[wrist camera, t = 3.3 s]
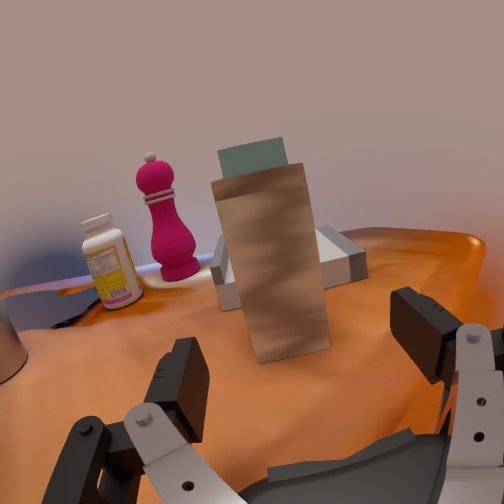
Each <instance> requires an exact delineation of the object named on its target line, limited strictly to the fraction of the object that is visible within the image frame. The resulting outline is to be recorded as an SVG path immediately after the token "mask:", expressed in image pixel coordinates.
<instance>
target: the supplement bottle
mask: <svg viewBox="0 0 504 504" xmlns="http://www.w3.org/2000/svg"><path fill="white" fill-rule="evenodd" d="M81 226H82V229H83V231H84V233H86V240H85V241H84V243H83V245H82V250H83V253H84V256H85V259H86V262H87V264H88V267H89V270H90V273H91V275H92V278H93V281H94V283H95V286H96V288H97V291H98V293H99V296H100V298H101V300H102V303H103V305H104V306H105V307H106V308H108V309H118V308H122V307H125V306H127V305H129V304H131V303H133V302H134V301H136V300H137V299H138V298H139V297H140V296H141V295H142V292H143V290H142V287H141V284H140V281H139V278H138V276H137V273H136V270H135V267H134V265H133V262H132V259H131V256H130V253H129V250H128V247H127V243H126V240H125V237H124V234H123V232H122V231H121V230H119V229H115V228H114V227H113V225H112V216H111V213H107V214H104V215H101V216H98V217H96V218H93V219H90V220H88V221H85V222H82V223H81Z"/></svg>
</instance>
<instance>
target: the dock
mask: <svg viewBox="0 0 504 504" xmlns="http://www.w3.org/2000/svg"><path fill="white" fill-rule="evenodd" d="M315 232H316V238H317V244H318V251H319V257H320V264H321V271H322V278H323V286H324V289H326V288H330V287H334V286H337V285H341V284H345V283H349V282H353V281H357V280H360V279H364V278H368V276H367V262H366V251H365V250H363V249H362V248H360V247H359V246H358V245H356V244H355V243H353V242H352V241H350V240H349V239H347V238H346V237H345V236H343V235H342V234H340V233H339V232H337V231H336V230H334V229H333V228H331V227H330V226H328V225H326V226H322V227H317V228H315ZM210 270H211V274H212V277H213V280H214V284H215V287H216V291H217V294H218V298H219V301H220V304H221V308H222V311H227V310H232V309H237V308H242V305H241V301H240V297H239V293H238V290H237V286H236V282H235V278H234V274H233V271H232V267H231V263H230V259H229V255H228V251H227V247H226V243H225V239H224V235H221V236H220V238H219V241H218V244H217V247H216V250H215V253H214V256H213V260H212V263H211V266H210Z"/></svg>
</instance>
